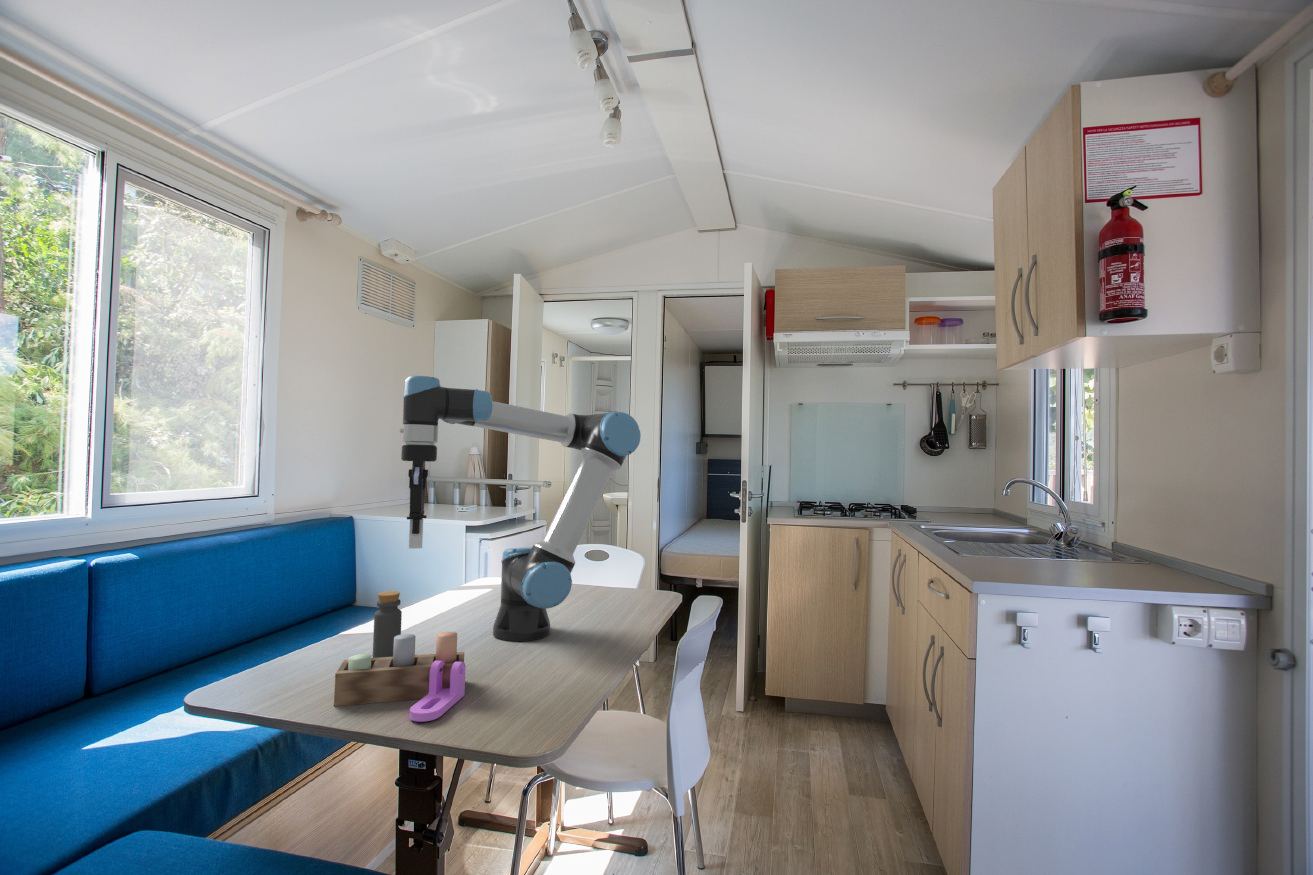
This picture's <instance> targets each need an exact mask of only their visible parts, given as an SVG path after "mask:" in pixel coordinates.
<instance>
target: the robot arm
mask: <svg viewBox="0 0 1313 875" xmlns="http://www.w3.org/2000/svg"><path fill="white" fill-rule="evenodd" d="M404 382H405V383H404V392H403V405H402V406H403V407H402V408H403V410H402V412H403V414H402V428H400V430H399V433H400V434H402V437H401V438H402V439H401V440H402V442H403V443H404V444H402V446H401V461H403V462H412V465H411V468H410V469H408V478H409V479H408V480H409V482H408V483H409V484H408V485H409V486H408V488H409V514H408V516H406V520H409V534H408V537H409V539H408V549H422V548H423V537H424V519H427V516H428V515H425V499H426V497H425V496H426V488H427V486H428V485H427V482H428V477H429V469H426V462H429V463H430V462H436V461H437V459H438V456H437V455H438V447H437V445H436V444H437V443H438V439H439V420H441V421H442V422H445V423H447V424H451V425H454V424H458V425H463V426H469V427H470V426H471V427H474V428H481V429H486V430H491V431H492V430H493V431H496V432H497V431H498V432H503V433H508V434H514V435H519V436H523V437H524V436H525V437H531V438H536V439H541V440H547V441H552V442H557V443H560V444H561V445H562V446H563V447H564V448H570V449H575V450H578V451H581V454H582V460H581V461H580V464H579V466H578V468H577V470H576V472H575V474H574V476H573V478H572V480H571V482H570V484H569V485H568V488H567V490H566V493H565V495H564V497H563V498H562V500H561V503H560V505H559V506H558V508H557V510H556V513H555V515H554V517H553V518H552V521H551V523H550V525H549V527H548V528H547V531H546V533H545V534H544V536H543V539H542V540H540V541H538V542H535V543H534V544H533V545H532V547H516V548H515V547H513V548H512V547H511V548H506V549H505V550H503V553H502V559H501V582H500V583H501V590H500V607H499V609H498V611H497V613H496V616H495V620H494V622H493V627H492V635H493V636H494V637H495V638H496V639H498V640H503V641H510V642H524V641H525V642H528V641H535V640H538V639H539V640H540V639H542V638H545V637H547V636H549V635H550V633H551V621H550V619H549V618H550V617H549V615H548V610H547V609H551V608H555V607H557V606H559V605H560V604H562V603H563V602H564V601H565V600H566V598H568V596H569V595H570V592H571V589H572V586H573V579H572V575H571V573H572V571H573V569H574V567H575V564H576V560H575V557H574V553H575V551H576V550H577V547H578V545H579V542H580V540H581V539H582V536H583V534H584V533H585V530H586V527H587V525H588V524H589V521H590V520H591V517H592V516H593V514H594V511H595V509H596V506H597V505H598V503H599V501H600V498H601V496H602V494H603V493H604V490H605V488H606V486H607V484H608V481H609V480H610V478H611V475H612V473H613V472H614V471H617V470H620V469H621V468H622V465H623V464H624V463H625V462H624V461H625V459H626V457H627V456H629V455H632V453H634V452H635V451H636V450H637V448H638V447H639V445H640V442H641V436H642V434H641V430H640V427H639V424H638V422H637V421H636V419H635V418H634V417H633V416H631V415H630V414H629V413H627V412H622V411H616V410H615V411H613V410H612V411H609V412H604V413H596V414H576V413H571V412H570V413H567V414H566V415H563V414H558V413H553V412H548V411H543V410H538V409H533V408H528V407H523V406H518V405H513V404H508V403H504V402H498V401H494V400H493V398H492V394H491V393H490V392H489V391H487V390H480V389H477V388H476V389H467V388H455V387H454V388H453V387H446V386H445V387H444V386H441V382H440V379H439V378H438V377H434V376H426V375H411V376H408V377H407V378H405V381H404Z"/></svg>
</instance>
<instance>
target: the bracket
mask: <svg viewBox="0 0 1313 875" xmlns="http://www.w3.org/2000/svg"><path fill="white" fill-rule="evenodd" d="M443 665H445V663H444V661H434V662H433V663H432V665H431V668H430V677H429V693H428V694H427V695H426V696H425V697H424V698H422V699H419V700H418V701H417V702H416V703H415V704H413V705H412V706H410V707H409V719H410V720H411V721H412V722H429V721H430V722H431V721H434V720H437V719H439V718H440V717H441V716H443V715H444V714H445V713H446V712H447V711H449V709H450V708H452V707H453V706H454V705H455V704H457V703H458V702H459V701H460V700H461V699H463V697H464V696H465V695H466V694H465V691H466V689H465V688H466V663H465V661H464V662H457V661H456V662H454V664H453V665H452V668H451V673H450V688H446V689H442V674H443V670H442V671H441V672H439V671H440V668H442V669H443Z"/></svg>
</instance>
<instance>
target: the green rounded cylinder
mask: <svg viewBox="0 0 1313 875" xmlns="http://www.w3.org/2000/svg"><path fill="white" fill-rule="evenodd" d="M371 658H372V655H371V654H369V653H361V654H360V653H359V654H353V655H352V656H350V657H348V660H349V663H348V670H359V669H371Z"/></svg>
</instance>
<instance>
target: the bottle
mask: <svg viewBox="0 0 1313 875" xmlns="http://www.w3.org/2000/svg"><path fill="white" fill-rule="evenodd" d="M400 594H401V593H400V591H397V590H386V591H381V592H379V593H378V594H377V596H378V600H377V601H376V607H377V608H378V610H376V611H375V613H374V617H373V618H374V619H373V620H374V621H373V636H372V638H373V639H372V640H373V641H372V658H380V657H393V649H394V637H395V636H397V635H402V619H403V618H402V613H403V612H402V610H401V609H400V608H398V607H399V606H400V605H401V599H400Z"/></svg>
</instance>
